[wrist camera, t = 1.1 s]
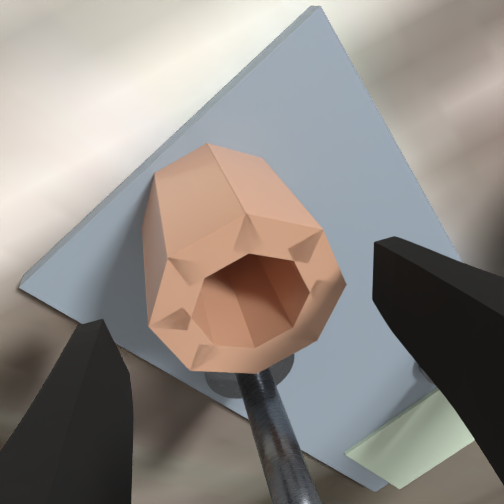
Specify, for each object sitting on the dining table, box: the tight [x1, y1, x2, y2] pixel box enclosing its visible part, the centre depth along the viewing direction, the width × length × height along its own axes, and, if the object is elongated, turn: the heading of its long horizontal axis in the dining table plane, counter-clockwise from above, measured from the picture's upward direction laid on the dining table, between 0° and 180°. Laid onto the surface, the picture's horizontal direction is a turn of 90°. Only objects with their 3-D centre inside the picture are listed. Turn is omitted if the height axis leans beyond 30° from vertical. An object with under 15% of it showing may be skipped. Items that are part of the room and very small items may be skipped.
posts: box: [204, 354, 435, 504], centre depth 18 cm, size 17×4×9 cm, turn 77°
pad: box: [344, 388, 475, 489], centre depth 28 cm, size 9×9×1 cm
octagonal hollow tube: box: [142, 143, 347, 374], centre depth 13 cm, size 5×5×6 cm
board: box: [19, 6, 463, 492], centre depth 22 cm, size 30×14×1 cm, turn 39°
